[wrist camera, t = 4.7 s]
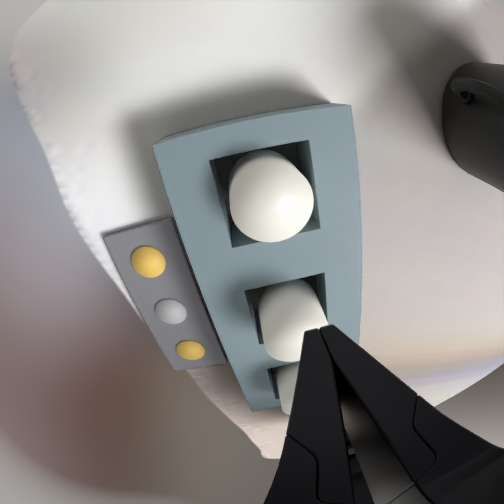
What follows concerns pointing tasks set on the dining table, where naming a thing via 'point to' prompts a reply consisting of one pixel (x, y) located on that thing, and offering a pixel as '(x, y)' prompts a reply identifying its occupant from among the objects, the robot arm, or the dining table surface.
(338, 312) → the button board
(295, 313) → the button mid
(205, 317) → the card
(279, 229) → the button
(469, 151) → the mug
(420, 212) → the dining table surface
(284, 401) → the button
